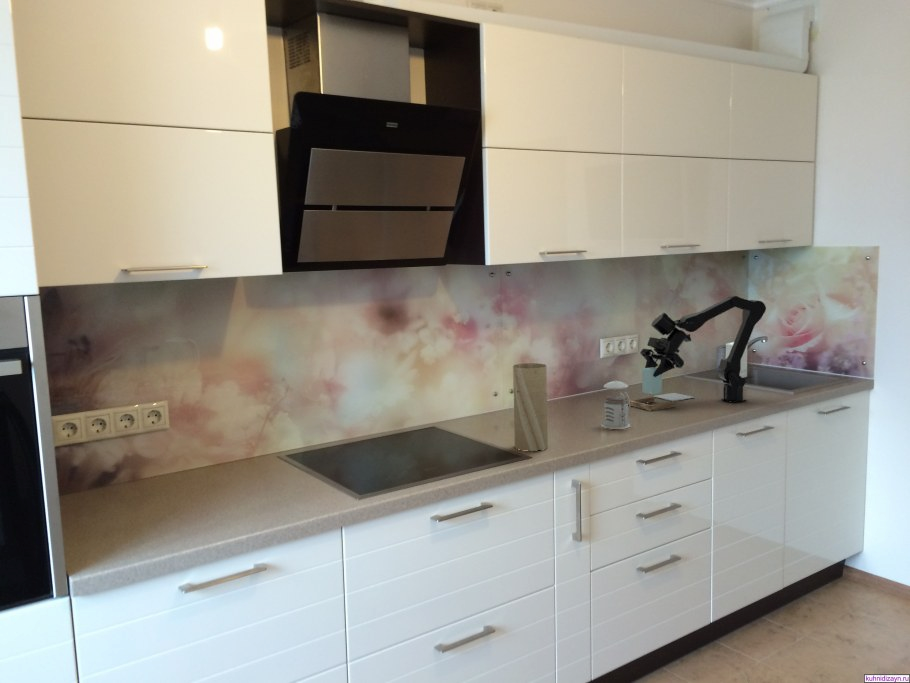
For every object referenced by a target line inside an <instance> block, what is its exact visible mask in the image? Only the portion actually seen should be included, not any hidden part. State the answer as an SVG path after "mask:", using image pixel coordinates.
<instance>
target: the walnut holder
mask: <svg viewBox="0 0 910 683" xmlns="http://www.w3.org/2000/svg"><path fill="white" fill-rule="evenodd" d="M629 400H630V405H631V406H635V407H638V408H637V409H639V408H642V409H641V410H643V409H646V410H645V411H647V410H649V411H648V412H652V411H651V410H655V411H659V410H658V409H661V410H665V409H664V408H667V409H672V408H671V407H674V408H676V402H670V401H667V402H661V403H655V398H654V397H653V396H649V397H643V398H637V399H636V398H635V399H628V400H627V402H628V405H629ZM647 402H654V404H649V403H647ZM643 403H647V404H643ZM631 406H630V407H631ZM635 407H634V408H635Z"/></svg>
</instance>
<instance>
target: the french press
mask: <svg viewBox="0 0 910 683" xmlns="http://www.w3.org/2000/svg"><path fill="white" fill-rule="evenodd" d="M612 356H614V357H618V356H620V353H619V352H618V351H615V352H613V353H612ZM603 388H605V389H608V390H615V395H607V396H605V401H604V408H603V409H604V421H603V423H602V425H601V427H602V426H603V427H606V428H610V429H609V430H611V429H624V428H628V427H630V425H631V424H630V423H629V411H630V407H631V406H630V400H631V399H630V397H629V395H628V392H626V391H624V392H623V393H622V392H619V395H617V390H623V389H624V390H625V389H627V388H629V385H628V384H627V383H626V382H622V381H621V380H620V381H619V380H617V379H615V380H613V381H610V382H606V383H605V384H604V385H603ZM627 399H628V400H629V406H628V400H627ZM603 427H602V428H603ZM606 428H605V429H606ZM624 430H625V429H624Z"/></svg>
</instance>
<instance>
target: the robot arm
mask: <svg viewBox="0 0 910 683" xmlns="http://www.w3.org/2000/svg"><path fill="white" fill-rule="evenodd" d="M733 308H738V309H741V310H742V313H741V314H742V315H741V316H742V317H741V318H742V319H741V320H742V322H741V324H740V326H739V329H738V331H737V334H736V336H735V339H734V341H733V342H734V344H733V346H732V349H731V351H730V354H729V356H728V357H727V358H726V357H725V359H723V358H721V359H720V362H719V365H718V366H717V368H716V369H717V375H718V377H719V378H720V379H722V383H723V385H724V386H723V398H720V400H721V401H723V400H726V401H725V402H728V401H731V402H730V403H733V402H736V403H739V402H738V401H742V402H746V401H745V400H746V399H745V398H743V397H744V387H745V385H746V380H745V379H744V378H742V377H741V376H740V370H741V358H742V356H743V353H744V351H745V348H746V346H747V343H748V344H749V341H750V338H751V335H752V333H753V331H754V328H755V326H756V324H758V322H760V321H761V319H762V317H763V316H764V314H765V313H766V311H767V306H766V304H765V303H764V302H763V301H762V300H757V299H745V298H743V297H740V296H738V295H729V296H727V297H726V298H724V299H722V300H720V301H718V302H716V303H714V304H713V305H711V306H709V307H707V308H705V309H702V310H701V311H698V312H697V311H696V312H693V313H690V314H687V315H683V316H682V317H681V318H679V319H675V320H673V319H672V318H671V317H669V316H668V314H667V313H665V312H662V314H660V315H659V316H657V317H655V318H654V319H653V321H652V322H651V324H650V325H651V327H653V329H654V330H656V331H657V332H658V333H659V334H660V335H661V336H664V335H666V336H667V337H661V338H658V337H651V336H650V337H649V340H648V341H647V346H648V347H650V348H642V349H641V351H640V352H639V353H640V355H641V356H642V357H643V358H644V360H646V363H645V367H644V368H650V367H654V368H657V369H656V371H655V372H654V374H653V376H654V377H657V376H659V375H660V374H662V375H663V374H664V373H666V372H668V371H671V370H672V369H673V370H674V369H675V368H678V369H682V368H683V367H684V365H685V360H684V359H683V358H682V357H681V356H680V355H679V352H680V349H679V348H680V347H681V346H682V344H683V343H684V342H685V343H688V342H692V337H691V334H690V333H694V332H696V331H697V330H699V329H700V328H701V327H702V326H704V325H705V323H706V322H708V321H710V320H712V319H713V318H715V317H717V316H719V315H722V314H723V313H726V312H728V311H730V310H731V309H733ZM684 331H685V332H684ZM686 332H689V334H688V333H686ZM747 347H748V346H747ZM651 348H654V349H653V350H654V351H653V350H652V349H651ZM658 360H659V361H660V363H659V364H658V363H657V362H658Z"/></svg>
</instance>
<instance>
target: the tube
mask: <svg viewBox="0 0 910 683" xmlns="http://www.w3.org/2000/svg"><path fill="white" fill-rule="evenodd" d="M547 371H548V370H547V365H546V364H544V363H532V362H531V363H525V362H524V363H518V364H517V363H516V364H514V365H513V366H512V374H513V375H512V379H513V382H512V384H513V415H514V416H513V418H514V419H513V420H514V422H513V423H514V449H515V448H517V449H520V450H528V451H538V450H543V449H546V448H547V449H549V440H548V439H549V435H548V434H549V431H548V429H549V427H548V425H549V424H548V383H547V382H548V376H547V374H548V373H547ZM517 449H516V450H517ZM547 449H546V450H547ZM543 451H544V450H543ZM538 452H539V451H538Z"/></svg>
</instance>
